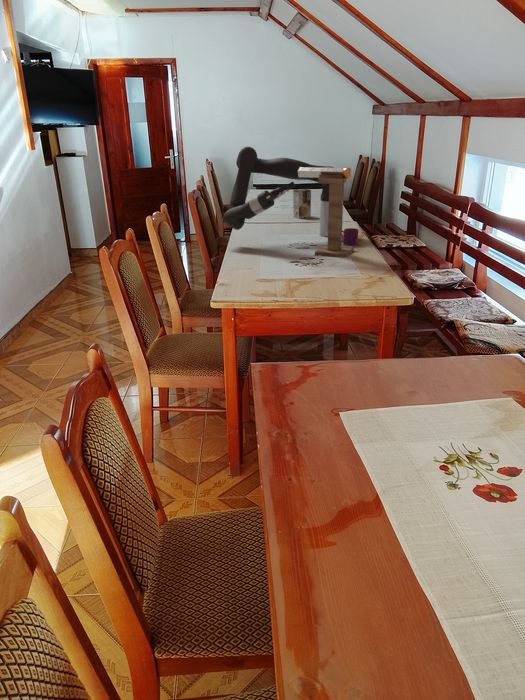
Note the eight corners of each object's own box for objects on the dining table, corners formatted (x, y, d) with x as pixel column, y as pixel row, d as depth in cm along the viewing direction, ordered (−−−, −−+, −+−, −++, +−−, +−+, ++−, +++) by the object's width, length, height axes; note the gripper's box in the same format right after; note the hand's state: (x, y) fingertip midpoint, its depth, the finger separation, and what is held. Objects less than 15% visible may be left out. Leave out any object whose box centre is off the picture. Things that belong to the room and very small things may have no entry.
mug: (357, 245, 252) (358, 231, 249) (336, 245, 253) (336, 230, 251) (357, 242, 258) (358, 228, 255) (336, 242, 259) (337, 228, 257)
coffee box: (304, 215, 332) (305, 188, 325) (311, 217, 327) (311, 189, 320) (292, 217, 327) (292, 189, 321) (298, 218, 322) (299, 190, 316)
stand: (323, 248, 247) (325, 172, 234) (353, 250, 242) (357, 172, 229) (314, 255, 235) (316, 175, 222) (345, 257, 230) (349, 176, 217)
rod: (301, 174, 234) (300, 164, 231) (351, 175, 226) (350, 165, 223) (298, 179, 232) (296, 170, 229) (348, 180, 223) (348, 171, 220)
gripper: (251, 197, 236) (281, 178, 228) (263, 193, 248) (292, 175, 240) (259, 212, 237) (289, 194, 229) (271, 207, 249) (300, 190, 241)
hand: (290, 184), depth 235 cm, fingers open, 8 cm apart
